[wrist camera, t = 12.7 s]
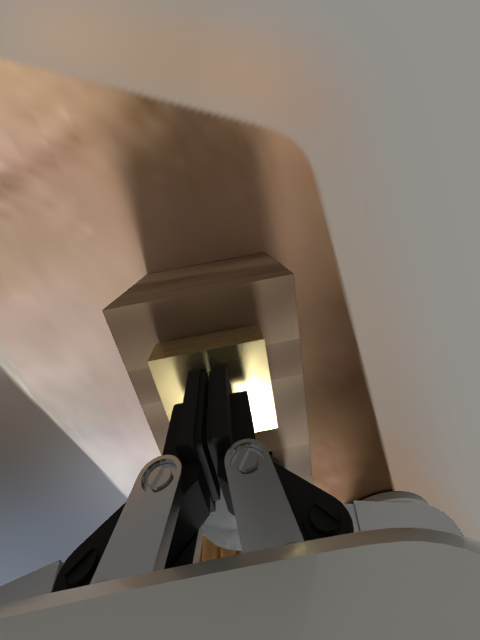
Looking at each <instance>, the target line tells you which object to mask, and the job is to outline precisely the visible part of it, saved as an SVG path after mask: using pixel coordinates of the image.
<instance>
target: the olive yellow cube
mask: <svg viewBox="0 0 480 640" xmlns="http://www.w3.org/2000/svg"><path fill="white" fill-rule="evenodd" d="M147 362H148V365H149V368H150V371H151V373H152V376H153V379H154V381H155V384H156V387H157V390H158V392H159V395H160V398H161V400H162V403H163V406H164V409H165V411H166V414H167V417H168V420H169V422H170V419H171V414H172V410H173V406H174V405H175V404H179V403H183V398H184V393H185V387H186V382H187V376H188V372H189V371H194V370H200V369H201V370H202V372H206V373H207V376H208V379H209V371H211V370H213V367H215V366H220V365H226V368H227V372H228V377H229V381H230V385H231V390H232V393H236V392H241V391H246V390H247V393H248V398H249V403H250V408H251V413H252V418H253V424H254V430H255V432H259V431H264V430H269V429H274V428H278V425H277V419H276V412H275V405H274V399H273V392H272V386H271V379H270V373H269V366H268V359H267V353H266V346H265V340H264V337H263V334H262V331H261V329H260V326H259V324H258V325H252V326H247V327H242V328H237V329H232V330H226V331H221V332H216V333H211V334H205V335H200V336H195V337H190V338H184V339H179V340H174V341H169V342H164V343H158V344H156V345H155V347H154V349H153V351H152V353H151V355H150V357H149V359H148V361H147Z"/></svg>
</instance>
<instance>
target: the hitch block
mask: <svg viewBox="0 0 480 640" xmlns="http://www.w3.org/2000/svg"><path fill="white" fill-rule="evenodd" d="M102 311H103V314H104V316H105V319H106V321H107V323H108V326H109V328H110V331H111V333H112V336H113V338H114V340H115V343H116V345H117V348H118V350H119V353H120V355H121V358H122V360H123V362H124V365H125V367H126V370H127V372H128V375H129V377H130V380H131V382H132V384H133V387H134V389H135V392H136V394H137V397H138V399H139V401H140V404H141V406H142V409H143V411H144V414H145V416H146V419H147V421H148V423H149V426H150V428H151V431H152V433H153V436H154V438H155V440H156V443H157V445H158V448H159V450H160V453H161V455H162V454H163V449H164V445H165V441H166V436H167V432H168V427H169V423H170V422H169V420H168V417H167V414H166V411H165V409H164V406H163V403H162V400H161V398H160V395H159V392H158V390H157V387H156V384H155V381H154V379H153V376H152V373H151V371H150V368H149V365H148V362H147V361H148V359H149V357H150V355H151V353H152V351H153V349H154V347H155V345H156V344H158V343H164V342H169V341H174V340H179V339H184V338H190V337H195V336H200V335H205V334H211V333H216V332H221V331H226V330H232V329H237V328H242V327H247V326H252V325H258V324H259V326H260V329H261V331H262V334H263V337H264V340H265V346H266V353H267V359H268V366H269V373H270V379H271V386H272V392H273V399H274V405H275V412H276V419H277V425H278V428H274V429H269V430H264V431H259V432H255V435H256V440H258V441H260V442H261V443H263V444H264V445H265V447H266V448H267V450H268V452H269V454H271V455H273V456H274V457H276V458H277V459H278V460H279V461H280V462H281V463H282V464H283V466H284V468H286V469H287V470H289V471H291V472H292V473H294V474H296V475H297V476H299V477H301V478H303V479H304V480H306V481H308V482H309V483H311V484H313V478H312V467H311V456H310V445H309V434H308V423H307V413H306V402H305V391H304V380H303V369H302V358H301V347H300V336H299V325H298V314H297V303H296V292H295V281H294V274H293V273H292V272H291V271H289V270H288V269H287V268H285V267H284V266H283V265H281V264H280V263H279V262H277V261H276V260H275V259H273V258H272V257H271V256H269V255H268V254H267V253H265V252H262V253H257V254H252V255H247V256H241V257H236V258H231V259H225V260H220V261H215V262H210V263H204V264H199V265H194V266H188V267H183V268H178V269H173V270H167V271H162V272H157V273H151V274H147V275H146V276H144V277H143V278H142V279H141V280H139V281H138V282H137V283H136V284H134V285H133V286H132V287H131V288H129V289H128V290H127V291H126V292H124V293H123V294H122V295H121V296H119V297H118V298H117V299H116V300H114V301H113V302H112V303H111V304H110V305H108V306H107V307H106V308H105V309H103V310H102ZM203 536H205V535H203Z"/></svg>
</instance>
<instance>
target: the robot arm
mask: <svg viewBox="0 0 480 640" xmlns="http://www.w3.org/2000/svg"><path fill="white" fill-rule="evenodd" d="M220 487H221V490H222V494H223V497H224V499H225V502H226V505H227V508H228V511H229V512H230V513H231V514H232V515H233V516H235V519H236V524H237V529H238V534H239V538H240V543H241V548H242V553H243V554H238V555H233V556H228V557H223V558H218V559H213V560H208V561H203V562H199V559H200V553H201V547H202V541H203V535H204V524H203V523H204V522H205V521H206V519H207V518H208V517H209V515H210V513H211V512H216V501H217V500H220V496H221V493H220ZM0 640H480V542H478V541H476V540H473V539H470V538H467V537H464V536H463V534H462V532H461V531H460V529H459V528H458V526H457V525H456V524H455V522H454V521H453V520H452V519H451V518H450V517H448V516H447V515H446V514H445V513H444V512H442V511H440V510H438V509H436V508H435V507H433V506H429V505H428V504H427V502H426V501H425V500H424V499H423V498H422V497H420V496H418V495H416V494H413V493H409V492H403V491H390V492H384V493H380V494H376V495H373V496H370V497H368V498H365V499H363V500H361V501H357V500H354V504H345V503H341V502H340V501H339V500H337V499H336V498H335V497H333V496H331V495H330V494H328V493H326V492H325V491H323V490H321V489H319V488H318V487H316V486H314V485H313V484H311V483H309V482H308V481H306V480H304V479H303V478H301V477H299V476H297V475H296V474H294V473H292V472H291V471H289V470H287V469H286V468H284V467H282V466H280V465H279V464H277V463H275V462H274V461H272V460H271V457H270V455H269V452H268V450H267V448H266V447H265V445H264V444H263V443H261V442H260V441H258V440H256V435H255V430H254V424H253V418H252V413H251V408H250V403H249V398H248V393H247V390H246V391H241V392H236V393H232V390H231V385H230V381H229V377H228V372H227V368H226V365H220V366H215V367H213V370H211V371H209V379H208V376H207V373H206V372H202V370H201V369H200V370H194V371H189V372H188V376H187V382H186V387H185V393H184V398H183V403H179V404H175V405H174V406H173V410H172V414H171V419H170V423H169V427H168V432H167V436H166V441H165V445H164V449H163V454H162V456H159V457H157V458H154V459H153V460H151V461H150V462H149V463H147V464H146V465H145V466H144V468H143V469H142V470H141V472H140V473H139V475H138V477H137V479H136V481H135V484H134V486H133V488H132V490H131V493H130V495H129V497H128V499H127V502H126V503H125V504H123V505H122V506H121V507H120V508H119V509H118V510H117V511H116V512H115V513H114V514H113V515H112V516H111V517H110V518H109V519H108V520H106V521H105V522H104V523H103V524H102V525H101V526H100V527H99V528H98V529H97V530H96V531H95V532H94V533H93V534H92V535H91V536H89V537H88V538H87V539H86V540H85V541H84V542H83V543H82V544H81V545H80V546H79V547H78V548H77V549H76V550H75V551H74V552H73V553H72V554H71V555H70V556H69V557H68V558H67V560H66V561H65V562H63V563H62V562H61V560H58V561H56V562H53V563H51V564H49V565H47V566H45V567H42V568H41V569H38V570H36V571H34V572H31V573H29V574H27V575H25V576H22V577H20V578H18V579H16V580H14V581H11V582H9V583H7V584H5V585H3V586H0Z"/></svg>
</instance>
